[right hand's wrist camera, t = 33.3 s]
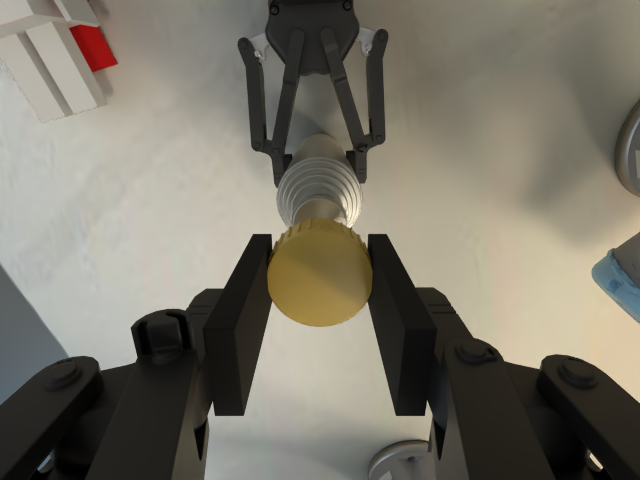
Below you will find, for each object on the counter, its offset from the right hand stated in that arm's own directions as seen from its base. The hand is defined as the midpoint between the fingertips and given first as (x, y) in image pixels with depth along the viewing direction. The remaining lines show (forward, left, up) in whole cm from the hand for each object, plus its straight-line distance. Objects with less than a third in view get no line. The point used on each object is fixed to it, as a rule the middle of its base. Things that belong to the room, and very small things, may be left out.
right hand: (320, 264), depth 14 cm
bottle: (0, 0, -29) cm, 29 cm away
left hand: (-3, +4, -23) cm, 23 cm away
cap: (0, 0, +1) cm, 1 cm away
